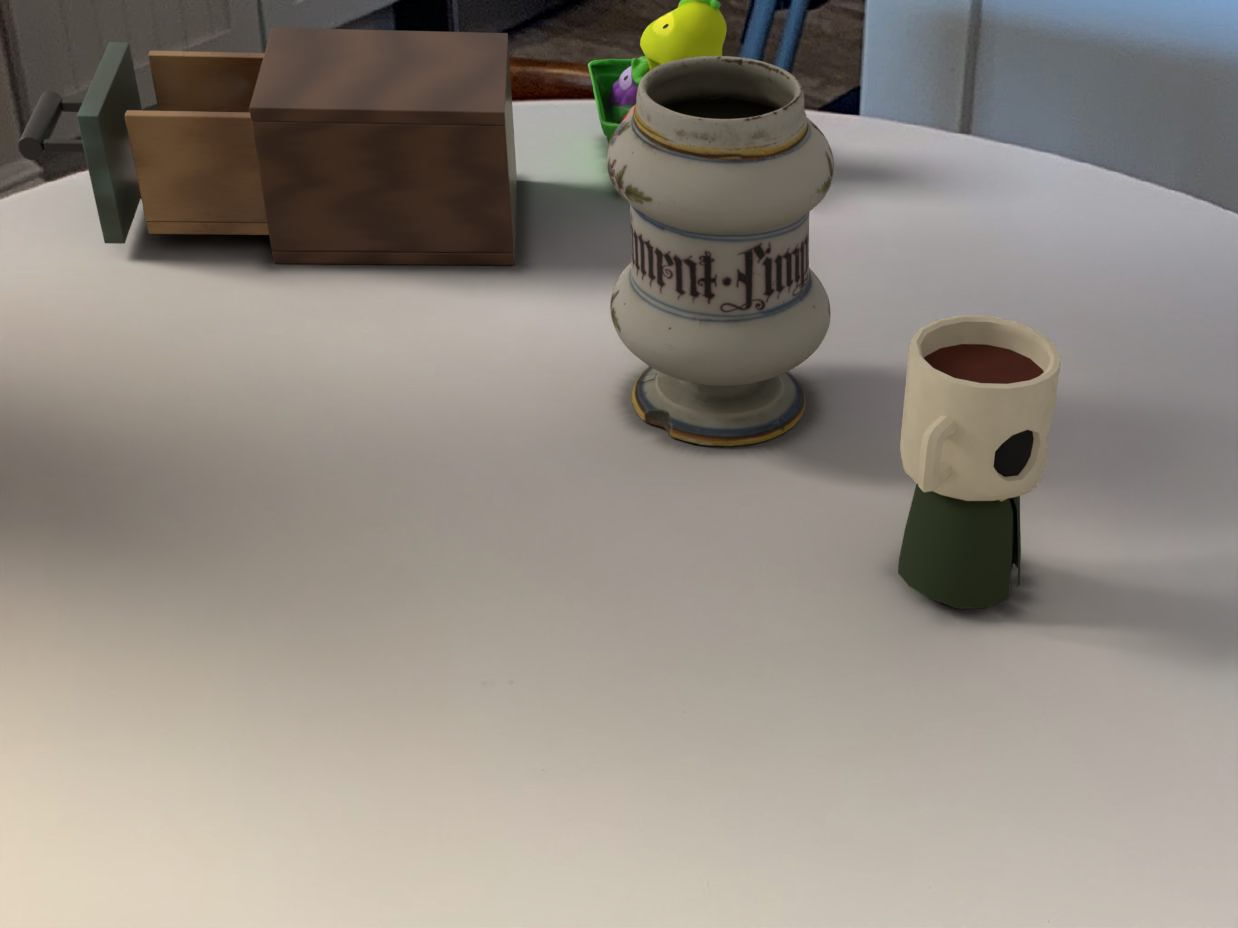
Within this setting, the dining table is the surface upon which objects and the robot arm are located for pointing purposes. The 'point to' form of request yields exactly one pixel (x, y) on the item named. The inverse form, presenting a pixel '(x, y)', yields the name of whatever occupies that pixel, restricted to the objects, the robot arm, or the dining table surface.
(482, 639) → the dining table surface
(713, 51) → the fruit basket
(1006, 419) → the character mug
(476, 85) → the cabinet
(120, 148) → the drawer
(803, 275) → the apothecary jar
